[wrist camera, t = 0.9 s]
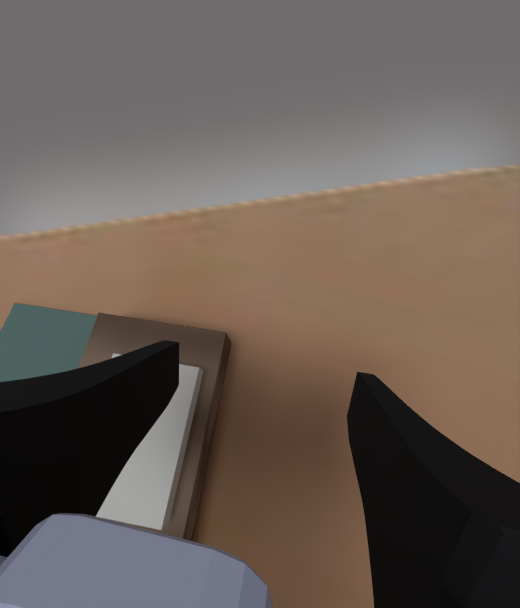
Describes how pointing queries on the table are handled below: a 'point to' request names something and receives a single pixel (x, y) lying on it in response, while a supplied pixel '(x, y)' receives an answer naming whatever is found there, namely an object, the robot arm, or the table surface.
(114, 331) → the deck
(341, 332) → the table surface
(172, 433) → the card
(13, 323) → the mat
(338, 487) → the table surface
